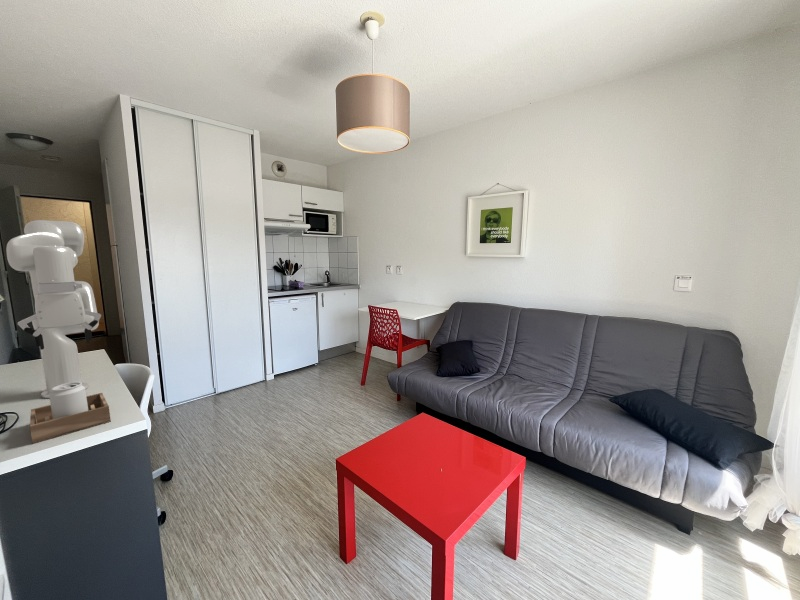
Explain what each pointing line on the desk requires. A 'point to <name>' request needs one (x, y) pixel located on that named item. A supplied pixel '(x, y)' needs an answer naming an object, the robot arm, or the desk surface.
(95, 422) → the walnut box
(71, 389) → the can
